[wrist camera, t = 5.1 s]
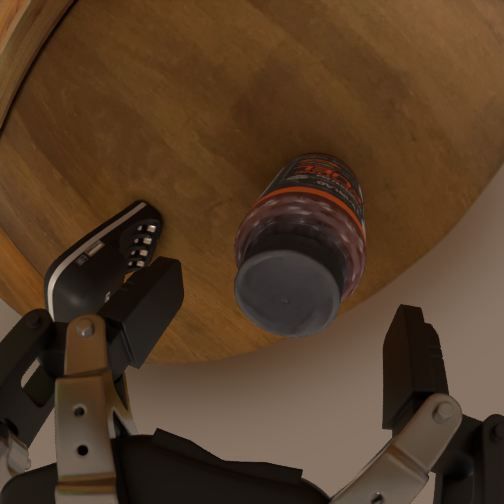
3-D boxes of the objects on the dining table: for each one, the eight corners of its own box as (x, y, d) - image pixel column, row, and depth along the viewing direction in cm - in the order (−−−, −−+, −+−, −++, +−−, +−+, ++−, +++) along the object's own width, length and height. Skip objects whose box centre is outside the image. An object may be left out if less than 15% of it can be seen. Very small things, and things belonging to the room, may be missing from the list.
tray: (86, -110, 8) (49, -120, 3) (143, -67, 12) (97, -86, 7) (-33, 78, 23) (-63, 88, 18) (-3, 149, 27) (-37, 165, 22)
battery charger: (155, 273, 28) (82, 358, 19) (123, 253, 28) (45, 328, 19) (175, 217, 24) (83, 305, 15) (139, 195, 24) (39, 268, 15)
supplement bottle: (373, 166, 18) (400, 259, 9) (346, 243, 21) (335, 371, 12) (284, 140, 19) (218, 203, 10) (266, 219, 22) (203, 329, 13)
